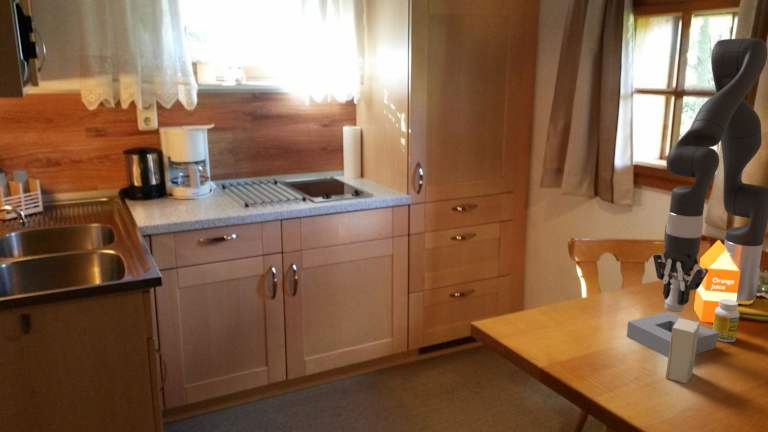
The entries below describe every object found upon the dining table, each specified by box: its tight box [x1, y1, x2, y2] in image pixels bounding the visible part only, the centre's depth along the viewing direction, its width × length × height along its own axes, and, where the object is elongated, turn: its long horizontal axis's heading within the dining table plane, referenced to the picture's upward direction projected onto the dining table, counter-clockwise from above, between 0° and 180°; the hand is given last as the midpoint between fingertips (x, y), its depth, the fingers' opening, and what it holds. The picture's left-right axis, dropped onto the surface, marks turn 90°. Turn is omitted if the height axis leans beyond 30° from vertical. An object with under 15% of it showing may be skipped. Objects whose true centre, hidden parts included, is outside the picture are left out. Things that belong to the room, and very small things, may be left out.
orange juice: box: [693, 239, 740, 323], centre depth 166 cm, size 8×9×20 cm
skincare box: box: [665, 317, 701, 385], centre depth 136 cm, size 6×4×12 cm
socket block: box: [626, 310, 718, 358], centre depth 153 cm, size 14×14×4 cm
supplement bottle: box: [711, 299, 740, 343], centre depth 154 cm, size 5×5×10 cm
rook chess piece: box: [663, 275, 685, 313], centre depth 150 cm, size 4×4×8 cm
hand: (675, 301), depth 151 cm, fingers closed on rook chess piece, 3 cm apart
